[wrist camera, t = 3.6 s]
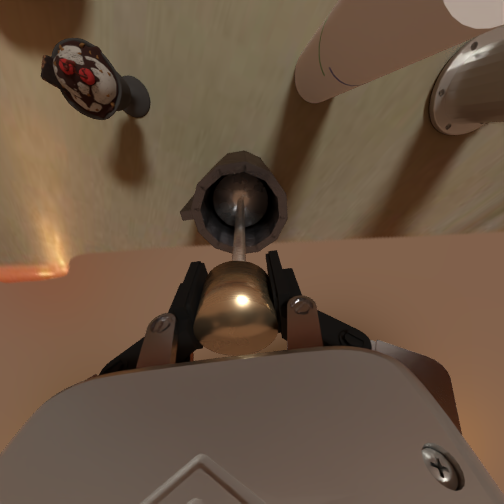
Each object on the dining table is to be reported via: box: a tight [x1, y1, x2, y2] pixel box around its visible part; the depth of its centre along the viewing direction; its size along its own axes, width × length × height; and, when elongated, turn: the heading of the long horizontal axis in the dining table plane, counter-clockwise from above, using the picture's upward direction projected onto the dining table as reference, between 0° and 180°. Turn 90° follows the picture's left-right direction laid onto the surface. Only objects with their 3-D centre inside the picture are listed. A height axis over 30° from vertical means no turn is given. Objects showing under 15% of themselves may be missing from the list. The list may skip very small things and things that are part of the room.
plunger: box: [193, 172, 279, 355], centre depth 18 cm, size 8×8×21 cm
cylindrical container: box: [295, 0, 504, 103], centre depth 18 cm, size 7×7×25 cm
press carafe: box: [180, 151, 288, 254], centre depth 30 cm, size 13×11×16 cm
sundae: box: [41, 38, 150, 120], centre depth 23 cm, size 7×7×15 cm
